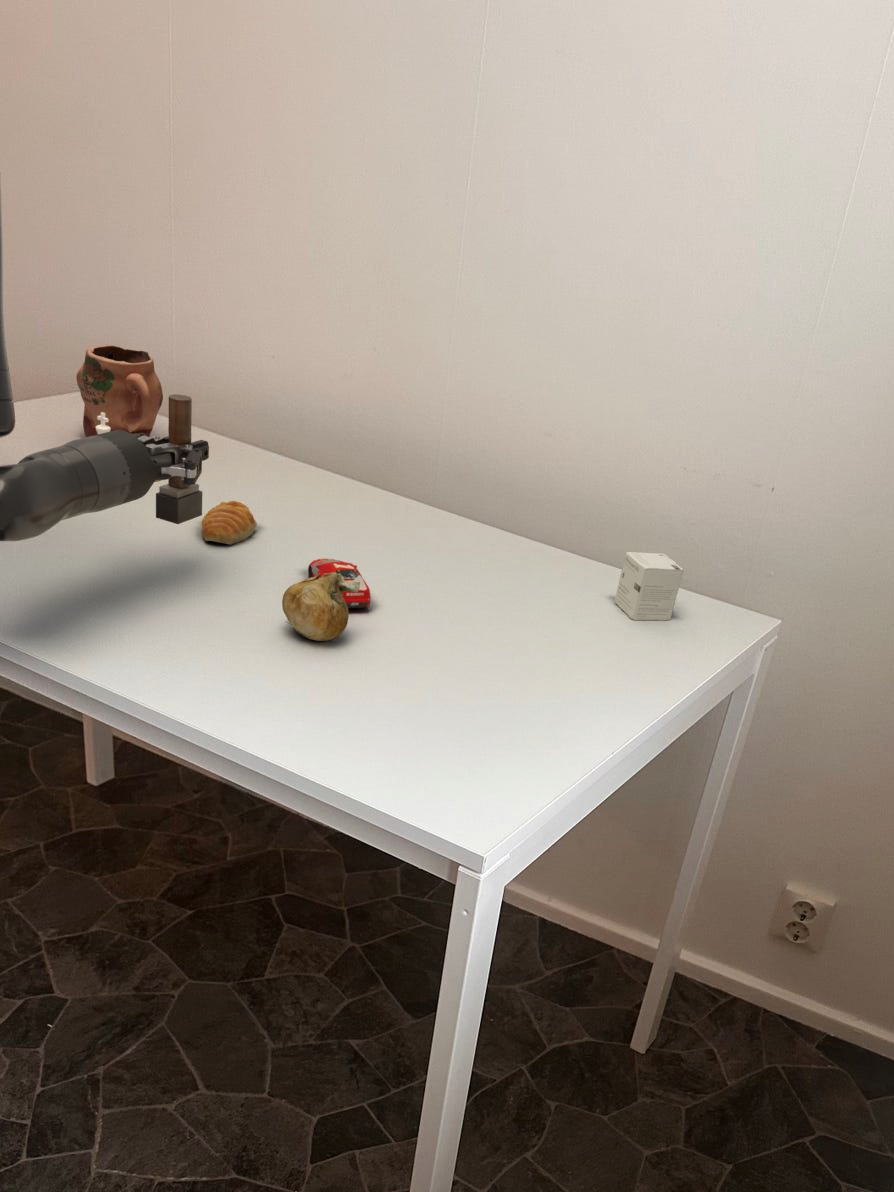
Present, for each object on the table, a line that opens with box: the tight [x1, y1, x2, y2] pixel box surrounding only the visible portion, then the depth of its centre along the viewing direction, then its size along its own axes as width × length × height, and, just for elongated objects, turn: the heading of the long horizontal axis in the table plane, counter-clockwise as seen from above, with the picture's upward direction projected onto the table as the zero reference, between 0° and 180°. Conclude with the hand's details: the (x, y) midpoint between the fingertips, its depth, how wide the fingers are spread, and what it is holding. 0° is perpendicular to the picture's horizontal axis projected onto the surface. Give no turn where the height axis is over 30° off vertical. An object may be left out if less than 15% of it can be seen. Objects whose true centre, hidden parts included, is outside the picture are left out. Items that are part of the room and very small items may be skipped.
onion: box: [281, 572, 360, 642], centre depth 135 cm, size 8×8×8 cm
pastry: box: [201, 500, 258, 545], centre depth 160 cm, size 9×7×4 cm
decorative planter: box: [75, 344, 164, 437], centre depth 184 cm, size 20×12×14 cm, turn 42°
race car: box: [307, 558, 372, 609], centre depth 149 cm, size 13×5×4 cm, turn 22°
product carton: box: [614, 551, 684, 621], centre depth 159 cm, size 6×6×7 cm
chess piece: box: [96, 412, 111, 434], centre depth 169 cm, size 5×5×10 cm
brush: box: [155, 393, 203, 525], centre depth 140 cm, size 5×3×14 cm, turn 157°
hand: (194, 446), depth 142 cm, fingers closed on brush, 2 cm apart
